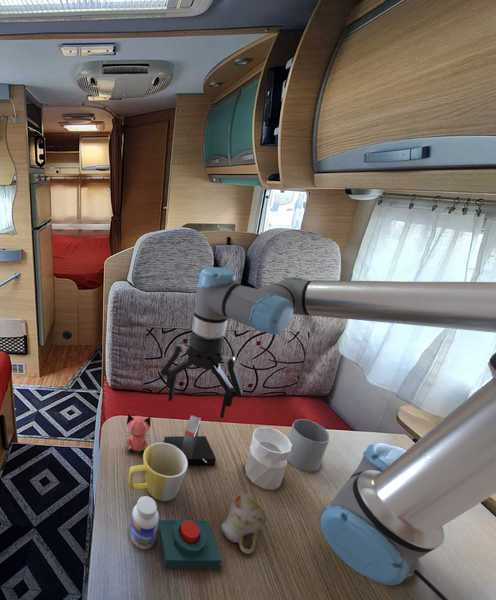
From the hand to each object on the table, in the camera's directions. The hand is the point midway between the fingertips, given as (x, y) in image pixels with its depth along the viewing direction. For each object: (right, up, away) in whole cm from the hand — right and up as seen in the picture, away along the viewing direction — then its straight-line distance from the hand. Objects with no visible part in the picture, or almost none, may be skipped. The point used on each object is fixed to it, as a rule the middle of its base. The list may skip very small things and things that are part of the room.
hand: (195, 406), depth 85 cm
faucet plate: (0, -15, +6) cm, 17 cm away
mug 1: (-12, -19, -4) cm, 23 cm away
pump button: (-7, -21, -18) cm, 28 cm away
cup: (+31, -16, +5) cm, 35 cm away
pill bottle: (-16, -23, -15) cm, 32 cm away
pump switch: (-7, -24, -16) cm, 30 cm away
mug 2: (+6, -23, -13) cm, 27 cm away
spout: (0, -13, +5) cm, 14 cm away
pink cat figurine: (-15, -15, +8) cm, 22 cm away
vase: (+17, -18, 0) cm, 25 cm away
